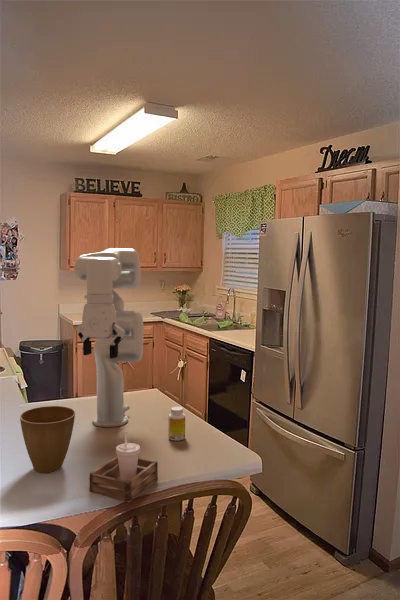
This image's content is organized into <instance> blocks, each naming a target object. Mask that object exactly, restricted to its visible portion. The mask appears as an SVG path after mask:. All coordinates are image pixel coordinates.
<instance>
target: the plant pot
mask: <svg viewBox="0 0 400 600" xmlns="http://www.w3.org/2000/svg"><path fill="white" fill-rule="evenodd" d="M75 417H76V410H74V409H73V408H71V407H68V406H61V405H47V406H44V405H43V406H39V407H34V408H30V409H27V410H24V411H23V412H22V413H21V414H20V415H19V420H20V421H19V422H20V427H21V432H22V437H23V441H24V445H25V449H26V451H27V454H28V457H29V460H30V462H31V464H32V468H33V469H34V471H35V472H36V473H38V474H53V473H56V472H58V471H60V470H61V469H62V467H63V464H64V463H65V462H64V461H65V459H66V456H67V453H68V450H69V447H70V443H71V438H72V435H73V430H74V424H75V419H76V418H75Z"/></svg>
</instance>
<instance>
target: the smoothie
mask: <svg viewBox="0 0 400 600" xmlns="http://www.w3.org/2000/svg"><path fill="white" fill-rule="evenodd" d="M140 452H141V447H140V445H139V444H138V443H134V442H128V431H127V430H124V443H120V444H119V445H118V444H117V446H116V447H115V453H116V456H117V457H118V464H119V472H120V479H121V480H123V481H127V480H130V479H132V478H133V477H134V476H136V471H137V467H138V466H137V463H138V457H139V455H140Z"/></svg>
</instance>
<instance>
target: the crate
mask: <svg viewBox="0 0 400 600" xmlns="http://www.w3.org/2000/svg"><path fill="white" fill-rule="evenodd" d="M158 464H159V463H158V461H157V460H153V459H148V458H147V459H146V458H143V457H139V456H138V463H137V471H136V476H134V477H133V478H132V479H130V480H127V481H123V480H121V479H120V472H119V464H118V457H117V455H116V456H114V457H112V459H110V460H108V461H107V462H105V463H104V464H102V465H101V466H99V467H97V468H96V469H94V470H93V471H91V472H89V476H88V479H89V480H88V481H89V483H88V484H89V485H88V486H89V488H88V490H89V493H91V494H96V495H99V496H103V497H107V498H110V499H114V500H116V501H117V500H118V501H121V502H125V503H128V502H127V501H130V500H131V501H133V500H134V499H135V498H136V497H138V496H139V495H140V494H141V493H142V492H144V491H145V490H147V488H149V486H151V485H152V484H153V483H155V482H156V481H157V480H158V472H159V471H158V468H159V466H158ZM131 501H130V502H131Z"/></svg>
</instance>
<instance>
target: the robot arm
mask: <svg viewBox="0 0 400 600" xmlns="http://www.w3.org/2000/svg"><path fill="white" fill-rule="evenodd" d="M73 273H74V276H75V278H76V279H77V281H79V282H86V294H85V295H84V300H86V303H84V305H83V309H82V318H81V324H78V325H77V326H76V327H75V329H76V332H77V335H78V337H79V338H80V340H81V343H82V352H83V353H82V355H83V356H89V355H91V354H92V347H93V353H94V361H95V369H96V416H94V417H93V418H92V423H93V425H95V426H97V427H101V428H114V427H115V428H116V427H121V426H124V425H126V424H127V422H129V417H128V416H127V415H125V413H126V412H127V411H128V410H130V409H131V408H130V405H129V404H126V405H125V404H124V403H125V402H124V398H125V397H124V372H123V370H122V369H121V367H120V366H119V365H118V364H119V363H137V362H140V361H141V360H142V359H143V355H144V318H143V315H142V314H141V312H140V311H137V310H125V302H124V299H123V298H122V297H121V295H119V293H118V292H117V291H115V289H117V290H118V289H119V290H120V289H123V290H124V289H126V290H127V289H130V290H131V289H132V290H133V289H137V288H139V287H140V285H141V282H142V273H141V261H140V257H139V253H138V251H137V250H136V249H134V248H128V247H127V248H119V247H115V248H113V247H110V248H105V249H103V250H102V251H98V252H92V253H86V254H82V255H80V256H78V257H77V258H76V260H75V261H74V264H73ZM92 339H96V340H94V343H93V346H92V341H91V340H92Z"/></svg>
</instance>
